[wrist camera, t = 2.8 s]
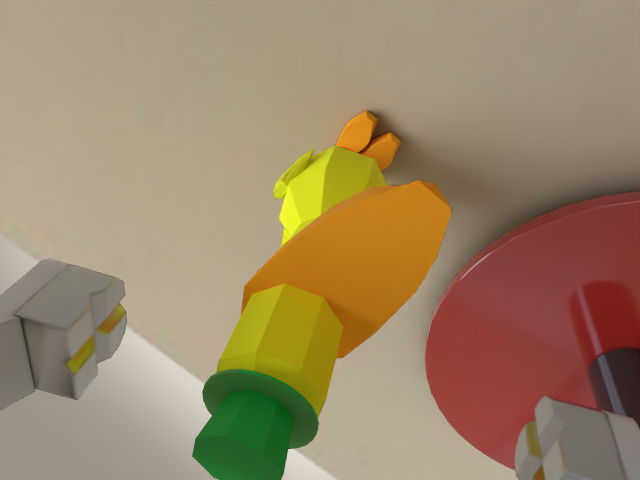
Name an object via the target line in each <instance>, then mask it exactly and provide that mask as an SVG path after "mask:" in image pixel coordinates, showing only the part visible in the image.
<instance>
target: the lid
mask: <svg viewBox="0 0 640 480" xmlns="http://www.w3.org/2000/svg"><path fill="white" fill-rule="evenodd" d="M425 365H426V376H427V379H428V383H429V386H430V390H431V393H432V395H433V397H434V399H435V401H436V403H437V405H438V408H439V409H440V411H441V412H442V413H443V415H444V416H445V418H446V419H447V421H448V422H449V423H450V424H451V426H452V427H453V428H454V429H455V430H456V431H457V432H458V433H459V434H460V435H461V436H462V437H463V438H464V439H465V440H466V441H468V442H469V443H470V444H471V445H472V446H474V447H475V448H476V449H478V450H479V451H481V452H482V453H484V454H485V455H487V456H488V457H490V458H491V459H493V460H495V461H497V462H499V463H501V464H503V465H504V466H506V467H508V468H511V469H513V470H515V449H516V445H517V441H518V437H519V435H520V433H521V431H522V429H523V427H524V425H525V424H527V423H529V422H532V421H534V420H536V417H535V410H534V408H535V407H536V405H537V403H538V402H539V400H540V399H541V398H543V397H544V396H545V395H546V396H550V397H554V398H557V399H561V400H565V401H569V402H572V403H576V404H580V405H584V406H587V407H591V408H595V409H599V410H601V411H607V412H611V413H615V414H619V415H623V416H626V417H630V418H633V419H634V420H635V422H636V423H637V424H638V427H639V429H640V191H633V192H627V193H620V194H614V195H607V196H601V197H597V198H593V199H589V200H585V201H581V202H577V203H574V204H570V205H566V206H564V207H561V208H558V209H556V210H553V211H550V212H548V213H545V214H542V215H540V216H537V217H535V218H533V219H531V220H529V221H527V222H525V223H523V224H521V225H519V226H517V227H515V228H513V229H511V230H510V231H508V232H507V233H505V234H504V235H502V236H501V237H499V238H497V239H496V240H494V241H493V242H491V243H490V244H488V245H487V246H486V247H485V248H483V249H482V250H481V251H480V252H479V253H478V254H476V255H475V256H474V257H473V258H472V259H470V260H469V261H468V262H467V263H466V264H465V265H464V267H463V268H462V269H461V270H460V271H459V272H458V273H457V274H456V275H455V276H454V278H453V279H452V280H451V282H450V283H449V285H448V286H447V287H446V289H445V290H444V292H443V293H442V295H441V296H440V298H439V300H438V303H437V305H436V307H435V309H434V311H433V313H432V316H431V319H430V323H429V327H428V330H427V337H426V348H425Z"/></svg>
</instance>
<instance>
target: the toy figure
mask: <svg viewBox="0 0 640 480" xmlns="http://www.w3.org/2000/svg"><path fill="white" fill-rule="evenodd" d="M377 121H378V120H377V118H376V117H374V116H373V115H372V114H371V113H369V112H368V111H367V110H366V111H364V112H362V113H361V114H359V115H357V116H356V117H354V118H352V119H351V120H350V121H349V122H348V123H347V125H346V126H345V127H344V129H343V131H342V133H341V135H340V137H339V139H338V141H337V143H336V145H335V146H334V147H331V148H329V149H327V150H325V151H322V152H320V153H318V154H316V155H313V152H314V149H312V150H310V151H308V152H307V153H305V154H304V155H302V156H301V157H300V158H299V159H298V160H297V161H296V162H294V163H293V164H292V166H291V167H290V168H289V169H288V170H287V171H286V172H285V173H284V174H283V175H282V176H281V177H280V178H279V180H278V181H277V183H276V185H275V187H274V191H273V195H274V197H275V198H276V199H281V198H282V197H283V196H284V195H285V198H284V202H283V206H282V209H281V213H280V217H279V220H280V221H281V223H282V224H283V226H284V232H283V239H282V245H281V248H280V249H279V250H278V251H277V252H276V253H275V254H274V255H273V256H272V257H271V258H270V259H269V260H268V261H267V262H266V263H265V264H264V265H263V266H262V267H261V268H260V269H259V270H258V271H257V273H256V274H255V275H254V276H253V277H252V278H251V279H250V281H249V282H248V283H247V284H246V285H245V287H244V294H243V302H242V310H241V317H240V319H239V321H238V323H237V325H236V327H235V330H234V332H233V334H232V336H231V338H230V340H229V342H228V344H227V346H226V348H225V350H224V352H223V354H222V356H221V358H220V360H219V363H218V368H217V372H216V374H214V375H212V376H211V377H210V378H209V379H208V380H207V382H206V383H205V385H204V389H203V401H204V403H205V405H206V408H207V409H208V411H209V412H210V413H211V415H212V417H211V418H210V420H209V421H208V422H207V424H206V425H205V426H204V428H203V429H202V431H201V432H200V433H199V435H198V436H197V438H196V440H195V445H194V450H193V457H194V458H195V459H196V460H197V461H198V462H199V463H200V464H201V465H202V466H203V467H204V468H205V469H206V470H207V471H208V472H209V473H210V474H211V475H212V476H213V477H214V478H216V479H219V480H281V478H282V476H283V473H284V468H285V463H286V457H287V452H288V449H293V448H299V447H302V446H305V445H307V444H308V443H310V442H311V441H312V440H313V439H314V437H315V436H316V434H317V431H318V424H319V422H318V417H319V414H320V412H321V410H322V407H323V405H324V403H325V400H326V397H327V393H328V388H329V384H330V380H331V376H332V372H333V368H334V364H335V360H336V358H343V357H344V356H346V355H347V354H348V353H350V352H351V351H352V350H353V349H355V348H356V347H357V346H359V345H360V344H361V343H363V342H364V341H365V340H367V339H368V338H369V337H370V336H372V335H373V334H374V333H376V332H377V331H378V330H379V329H380V327H381V326H382V325H383V324H384V323H385V322H386V321H387V320H388V319H389V318H390V317H391V316H392V315H393V314H394V313H395V312H396V311H397V310H398V309H399V308H400V307H401V306H402V305H403V304H404V303H405V302H406V301H407V300H408V299H409V298H410V297H411V296H412V295H413V294H414V293H415V292H416V291H417V289H418V287H419V286H420V284H421V282H422V281H423V279H424V278H425V276H426V274H427V273H428V271H429V269H430V268H431V266H432V265H433V263H434V261H435V260H436V258H437V255H438V252H439V249H440V246H441V243H442V239H443V236H444V233H445V230H446V227H447V224H448V221H449V218H450V215H451V212H452V208H451V207H450V205H449V204H448V202H447V201H446V199H445V197H444V196H443V194H442V193H441V191H440V190H439V188H438V187H437V185H436V184H435V183H430V182H425V181H420V180H417V181H414V182H411V183H408V184H406V185H391V186H388V184H387V182H386V180H385V178H384V176H383V175H382V173H381V171H383V170H384V169H385V168H387V167H388V166H389V165H391V162H392V159H393V157H394V155H395V154H396V152H397V150H398V148H399V146H400V144H401V141H400V140H399V139H398V138H397V137H396V136H395V135H394V134H393V133H391V132H388V133H386V134H384V135H382V136H379V137H377V138H375V139H373V140H372V141H371V142H370V139H371V136H372V134H373V131H374V129H375V126H376V124H377ZM369 142H370V143H369ZM366 145H367V146H366ZM365 146H366V148H365V149H364V151H363V152H362V153H361V154H359V153H358V152H360V151H361V150H362V149H363V148H364V147H365ZM312 155H313V156H312Z"/></svg>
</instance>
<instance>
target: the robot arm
mask: <svg viewBox="0 0 640 480" xmlns="http://www.w3.org/2000/svg"><path fill="white" fill-rule="evenodd" d="M124 296H125V287H124V282H123V281H122V280H120V279H119V278H116V277H113V276H109V275H106V274H103V273H99V272H96V271H93V270H89V269H86V268H83V267H79V266H76V265H71V264H67V263H64V262H61V261H58V260H54V259H51V258H49V259H45V260H42V261H41V262H39V263H38V264H37V265H36V266H35V267H33V268H32V269H31V270H30V271H29V272H28V273H26V274H25V275H24V276H23V277H22V278H20V279H19V280H18V281H17V282H16V283H15V284H13V285H12V286H11V287H10V288H8V289H7V290H6V291H5V292H4V293H2V294H1V295H0V410H2V409H4V408H6V407H8V406H10V405H11V404H13V403H15V402H17V401H18V400H20V399H22V398H24V397H26V396H28V395H30V394H31V393H33V392H35V389H38V390H41V391H45V392H49V393H52V394H56V395H60V396H64V397H67V398H72V399H75V400H78V399H79V398H80V397H81V395H82V394H83V393H84V392H85V390H86V389H87V387H88V386H89V385H90V384H91V383H92V381H93V380H94V379H95V377H96V376H97V375H98V369H97V363H100V362H102V361H104V360H106V359H108V358H111V357H112V355H113V354H114V353H115V351H116V350H117V348H118V347H119V345H120V343H121V341H122V338H123V336H124V334H125V329H126V323H127V315H126V311H125V310H124V308H123V307H122V306H121V304H120V303H119V302H120V301H121V300H122V298H123V297H124ZM534 410H535V417H536V420H534V421H532V422H529V423H527V424H525V425H524V427H523V429H522V431H521V433H520V435H519V437H518V441H517V445H516V449H515V472H516V476H517V477H518V479H519V480H640V429H639V427H638V424H637V423H636V422H635V420H634V419H633V418H630V417H626V416H623V415H619V414H615V413H611V412H607V411H601V410H599V409H595V408H591V407H587V406H584V405H580V404H576V403H572V402H569V401H565V400H561V399H557V398H554V397H550V396H546V395H545V396H544V397H543V398H541V399H540V400H539V402H538V403H537V405H536V407H535V408H534Z"/></svg>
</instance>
